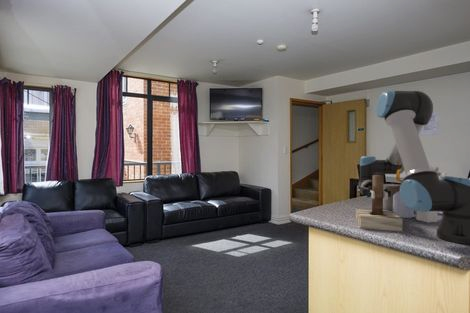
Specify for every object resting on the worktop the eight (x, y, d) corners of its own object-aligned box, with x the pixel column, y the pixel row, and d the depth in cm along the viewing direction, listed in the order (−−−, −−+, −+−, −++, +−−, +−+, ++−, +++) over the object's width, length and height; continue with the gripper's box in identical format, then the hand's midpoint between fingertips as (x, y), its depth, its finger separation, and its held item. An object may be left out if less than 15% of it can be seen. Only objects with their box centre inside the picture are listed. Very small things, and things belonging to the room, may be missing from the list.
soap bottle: (416, 218, 148) (417, 168, 147) (395, 217, 149) (396, 167, 149) (409, 214, 156) (410, 166, 156) (390, 213, 158) (391, 166, 157)
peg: (384, 217, 133) (385, 176, 132) (375, 217, 132) (376, 176, 132) (379, 215, 137) (379, 175, 137) (369, 215, 137) (370, 175, 136)
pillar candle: (404, 209, 170) (404, 182, 170) (397, 211, 163) (398, 183, 163) (386, 207, 177) (386, 181, 177) (379, 209, 170) (379, 182, 170)
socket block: (355, 219, 144) (355, 209, 144) (392, 222, 140) (392, 211, 140) (360, 228, 129) (360, 216, 129) (402, 231, 125) (402, 219, 125)
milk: (437, 222, 141) (439, 174, 141) (427, 222, 140) (428, 174, 139) (425, 218, 147) (427, 173, 146) (415, 219, 145) (417, 173, 145)
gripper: (389, 196, 150) (402, 205, 127) (351, 195, 154) (358, 203, 132) (389, 181, 149) (403, 187, 127) (351, 180, 154) (358, 186, 131)
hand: (380, 195), depth 129 cm, fingers closed on peg, 4 cm apart
